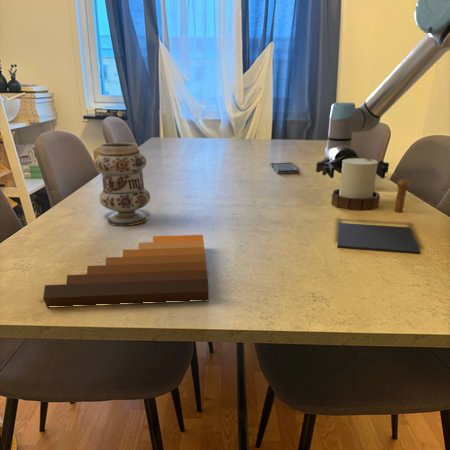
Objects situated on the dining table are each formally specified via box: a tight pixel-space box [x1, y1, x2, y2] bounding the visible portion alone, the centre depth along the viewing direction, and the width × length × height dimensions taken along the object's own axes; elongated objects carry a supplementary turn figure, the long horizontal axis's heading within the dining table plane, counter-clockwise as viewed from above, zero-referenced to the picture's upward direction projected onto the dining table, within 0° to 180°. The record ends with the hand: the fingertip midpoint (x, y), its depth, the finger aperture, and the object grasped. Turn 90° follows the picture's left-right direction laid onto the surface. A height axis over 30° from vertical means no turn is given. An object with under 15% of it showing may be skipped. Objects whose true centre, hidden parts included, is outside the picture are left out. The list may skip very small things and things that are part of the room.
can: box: [339, 157, 379, 199], centre depth 117 cm, size 9×9×12 cm
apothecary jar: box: [94, 142, 151, 226], centre depth 103 cm, size 12×12×18 cm
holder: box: [331, 178, 410, 213], centre depth 117 cm, size 19×13×8 cm
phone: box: [271, 162, 299, 175], centre depth 163 cm, size 8×1×15 cm
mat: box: [336, 222, 421, 255], centre depth 94 cm, size 16×16×1 cm
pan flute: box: [42, 234, 210, 308], centre depth 77 cm, size 25×3×25 cm
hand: (358, 172), depth 116 cm, fingers open, 13 cm apart
